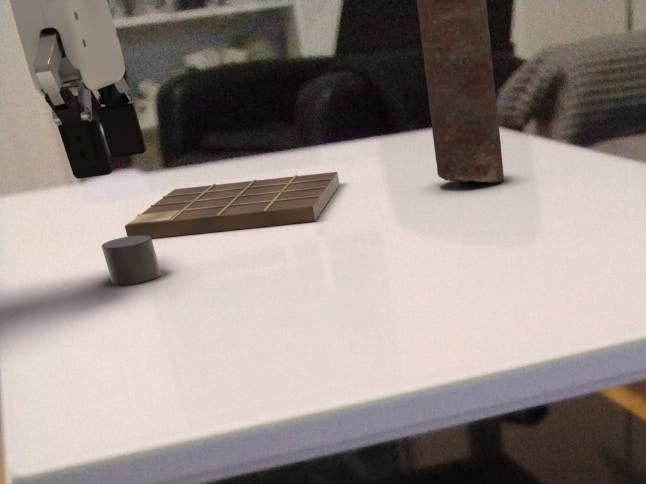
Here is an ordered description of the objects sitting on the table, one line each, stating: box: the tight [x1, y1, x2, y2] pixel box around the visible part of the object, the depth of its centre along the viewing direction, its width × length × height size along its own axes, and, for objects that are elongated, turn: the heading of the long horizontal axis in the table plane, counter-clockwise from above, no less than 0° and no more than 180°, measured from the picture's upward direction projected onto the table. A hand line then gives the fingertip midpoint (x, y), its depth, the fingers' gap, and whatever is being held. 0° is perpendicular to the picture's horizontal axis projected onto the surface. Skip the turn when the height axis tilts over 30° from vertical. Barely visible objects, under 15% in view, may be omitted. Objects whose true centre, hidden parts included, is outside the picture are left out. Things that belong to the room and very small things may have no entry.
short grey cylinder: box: [101, 235, 162, 286], centre depth 92 cm, size 4×4×3 cm
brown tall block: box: [416, 0, 505, 185], centre depth 109 cm, size 8×7×20 cm
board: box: [124, 171, 340, 239], centre depth 114 cm, size 20×20×2 cm
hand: (112, 164), depth 88 cm, fingers open, 9 cm apart
